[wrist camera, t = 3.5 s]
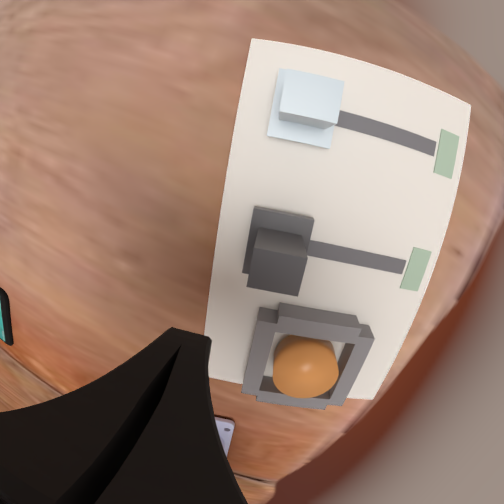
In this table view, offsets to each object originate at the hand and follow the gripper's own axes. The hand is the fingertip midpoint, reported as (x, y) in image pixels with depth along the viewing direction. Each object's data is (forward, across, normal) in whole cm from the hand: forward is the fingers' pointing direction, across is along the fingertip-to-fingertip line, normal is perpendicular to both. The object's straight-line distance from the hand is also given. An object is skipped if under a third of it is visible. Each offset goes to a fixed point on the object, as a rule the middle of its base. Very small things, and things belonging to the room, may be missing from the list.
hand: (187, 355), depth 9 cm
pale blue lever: (+7, -2, -9) cm, 11 cm away
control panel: (+8, -5, -2) cm, 10 cm away
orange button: (+7, -5, +4) cm, 10 cm away
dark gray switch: (+7, -2, -2) cm, 7 cm away
